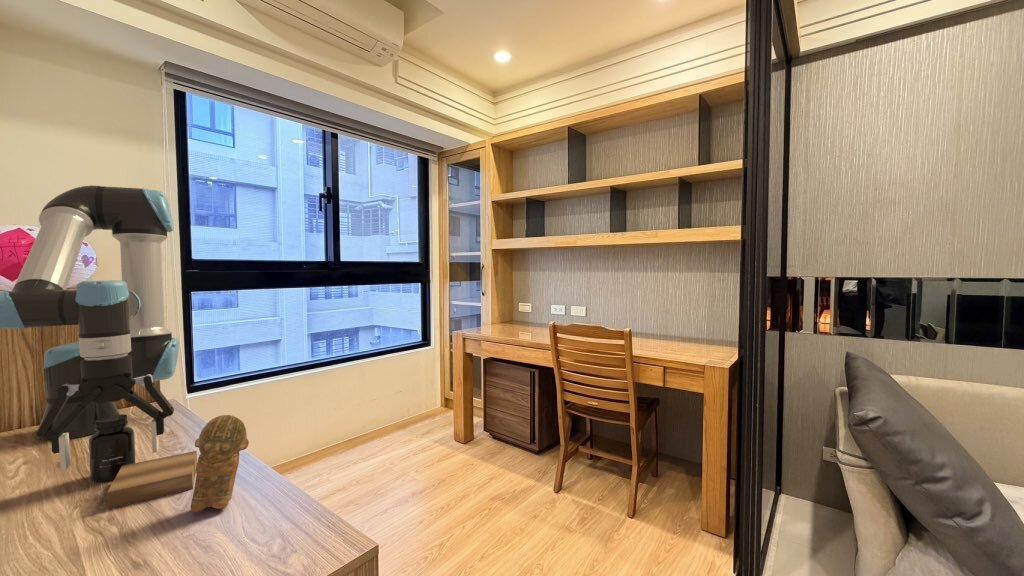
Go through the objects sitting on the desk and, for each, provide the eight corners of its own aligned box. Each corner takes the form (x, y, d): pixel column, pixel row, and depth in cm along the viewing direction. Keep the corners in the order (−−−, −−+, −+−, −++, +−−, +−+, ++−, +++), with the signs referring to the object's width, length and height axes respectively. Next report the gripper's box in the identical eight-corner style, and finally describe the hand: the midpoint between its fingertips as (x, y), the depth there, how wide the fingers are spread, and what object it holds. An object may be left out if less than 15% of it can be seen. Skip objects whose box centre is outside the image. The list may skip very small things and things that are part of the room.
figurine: (189, 521, 71) (184, 434, 70) (199, 497, 78) (195, 418, 77) (248, 507, 75) (244, 424, 74) (252, 486, 82) (248, 410, 81)
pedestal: (122, 480, 85) (122, 465, 84) (197, 464, 91) (196, 450, 91) (108, 509, 75) (107, 492, 74) (192, 488, 81) (191, 473, 81)
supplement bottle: (108, 485, 83) (104, 425, 82) (81, 481, 84) (77, 423, 83) (145, 468, 89) (141, 413, 89) (119, 465, 91) (116, 411, 90)
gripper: (6, 368, 75) (14, 484, 76) (182, 351, 89) (187, 449, 90) (23, 361, 82) (31, 468, 83) (185, 346, 95) (190, 438, 96)
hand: (112, 458), depth 86 cm, fingers open, 13 cm apart
